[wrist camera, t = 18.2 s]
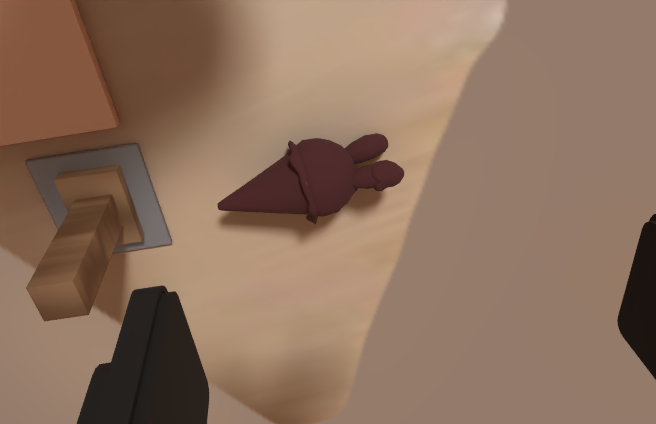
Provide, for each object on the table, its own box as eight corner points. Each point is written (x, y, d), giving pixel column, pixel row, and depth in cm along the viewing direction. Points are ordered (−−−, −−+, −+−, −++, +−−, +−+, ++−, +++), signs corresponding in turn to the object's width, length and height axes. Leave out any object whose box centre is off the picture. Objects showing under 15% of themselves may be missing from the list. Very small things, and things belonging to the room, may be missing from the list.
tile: (61, -44, 36) (-86, -21, 36) (54, -41, 35) (-99, -17, 35) (121, 119, 43) (-4, 139, 43) (117, 127, 42) (-12, 147, 42)
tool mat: (26, 160, 44) (25, 162, 43) (137, 142, 44) (136, 145, 43) (73, 256, 49) (72, 259, 49) (172, 241, 49) (171, 243, 49)
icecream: (236, 267, 44) (412, 215, 44) (206, 207, 38) (407, 148, 39) (226, 207, 48) (386, 160, 49) (198, 146, 43) (378, 94, 43)
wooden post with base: (58, 173, 44) (-3, 266, 34) (119, 164, 44) (76, 254, 34) (88, 241, 48) (41, 344, 38) (144, 233, 48) (112, 333, 38)
